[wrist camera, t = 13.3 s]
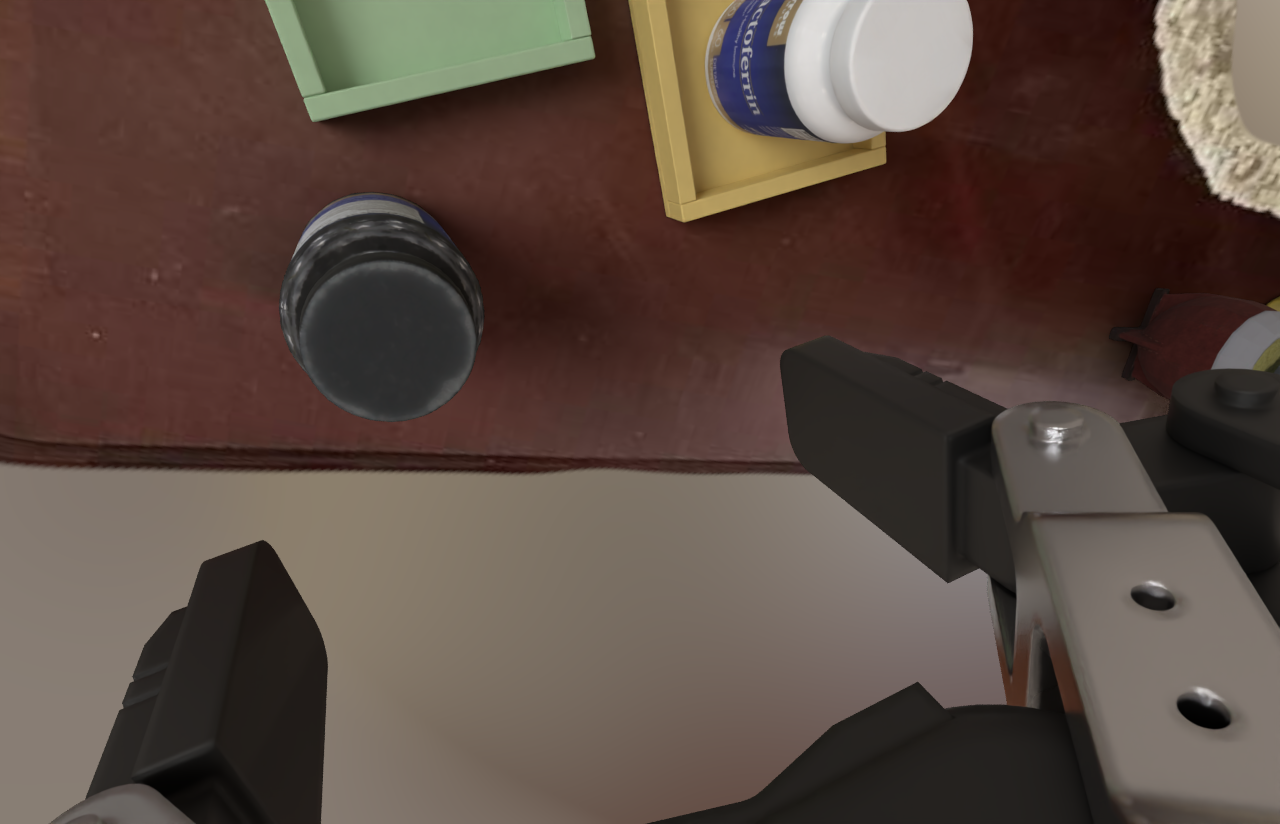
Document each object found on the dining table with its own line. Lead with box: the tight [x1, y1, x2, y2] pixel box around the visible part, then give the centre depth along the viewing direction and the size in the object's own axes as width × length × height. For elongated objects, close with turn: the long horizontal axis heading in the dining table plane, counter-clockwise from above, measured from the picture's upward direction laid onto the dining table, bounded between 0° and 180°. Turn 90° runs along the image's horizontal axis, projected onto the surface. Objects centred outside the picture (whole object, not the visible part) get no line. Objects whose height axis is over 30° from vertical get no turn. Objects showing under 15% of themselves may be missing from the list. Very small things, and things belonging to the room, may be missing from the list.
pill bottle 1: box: [279, 192, 485, 422], centre depth 24 cm, size 6×6×11 cm
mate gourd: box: [1109, 288, 1280, 400], centre depth 41 cm, size 8×8×15 cm
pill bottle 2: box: [705, 0, 973, 143], centre depth 26 cm, size 6×6×10 cm
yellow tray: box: [628, 0, 886, 222], centre depth 30 cm, size 11×11×2 cm
